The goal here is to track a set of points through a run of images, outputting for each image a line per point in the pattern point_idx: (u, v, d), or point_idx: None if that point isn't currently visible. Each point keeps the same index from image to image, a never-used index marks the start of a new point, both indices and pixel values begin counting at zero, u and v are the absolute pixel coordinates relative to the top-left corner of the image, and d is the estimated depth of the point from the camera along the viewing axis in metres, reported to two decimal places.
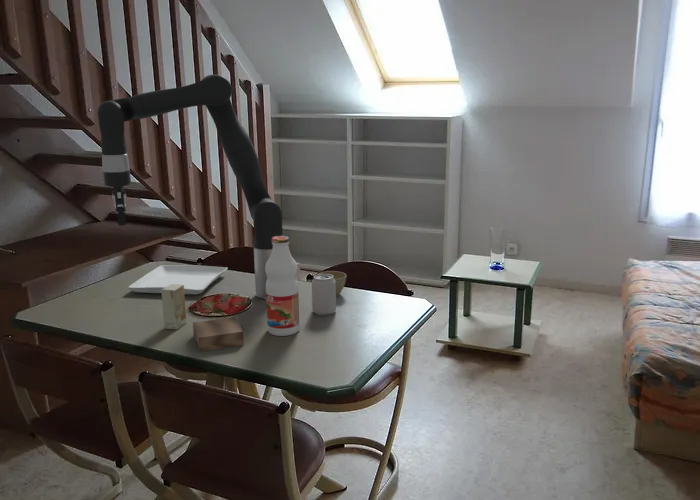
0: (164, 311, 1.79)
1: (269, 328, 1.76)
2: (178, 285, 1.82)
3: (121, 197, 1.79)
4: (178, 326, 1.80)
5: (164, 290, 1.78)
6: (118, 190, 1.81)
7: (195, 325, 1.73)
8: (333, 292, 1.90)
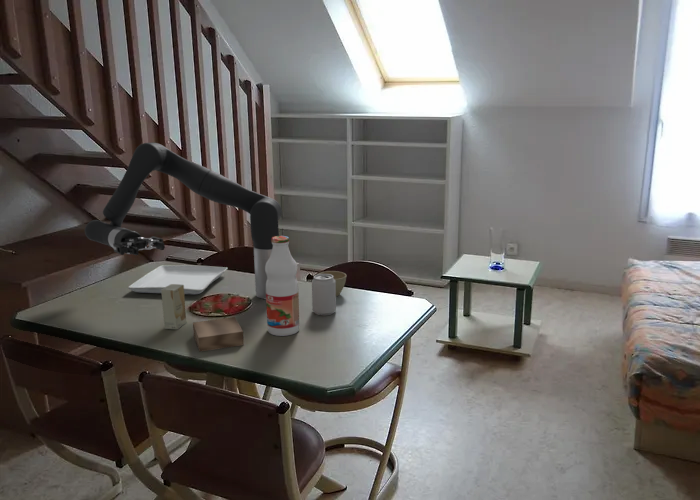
0: (164, 311, 1.79)
1: (269, 328, 1.76)
2: (178, 285, 1.82)
3: (114, 246, 1.86)
4: (178, 326, 1.80)
5: (164, 290, 1.78)
6: (122, 245, 1.90)
7: (195, 325, 1.73)
8: (333, 292, 1.90)
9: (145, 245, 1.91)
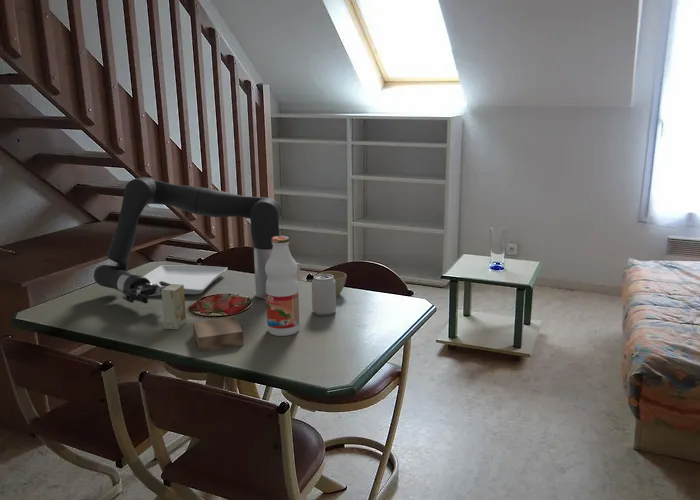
0: (164, 311, 1.79)
1: (269, 328, 1.76)
2: (178, 285, 1.82)
3: (124, 294, 1.88)
4: (178, 326, 1.80)
5: (164, 290, 1.78)
6: None
7: (195, 325, 1.73)
8: (333, 292, 1.90)
9: (154, 291, 1.93)
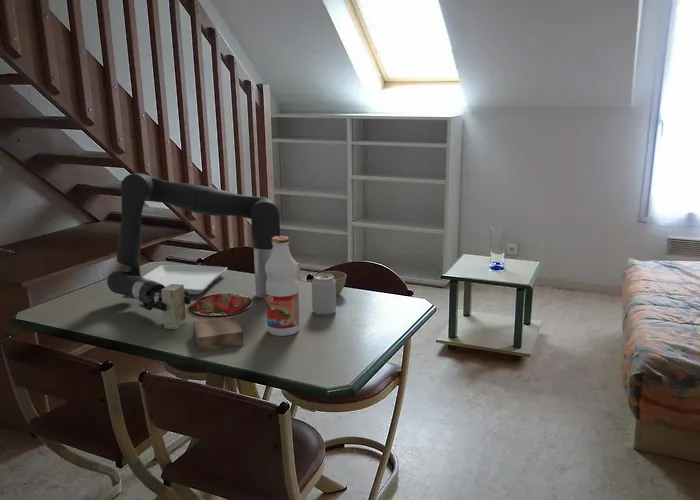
0: (164, 311, 1.79)
1: (269, 328, 1.76)
2: (178, 285, 1.82)
3: (141, 301, 1.81)
4: (177, 326, 1.80)
5: (164, 290, 1.78)
6: (147, 299, 1.85)
7: (195, 325, 1.73)
8: (333, 292, 1.90)
9: None
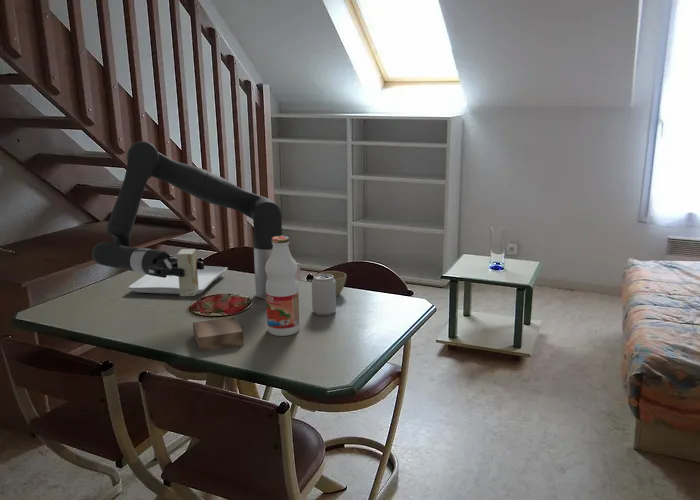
0: (180, 277, 1.69)
1: (269, 328, 1.76)
2: (191, 249, 1.72)
3: (152, 269, 1.69)
4: (195, 293, 1.71)
5: (180, 255, 1.68)
6: None
7: (195, 325, 1.73)
8: (333, 292, 1.90)
9: None
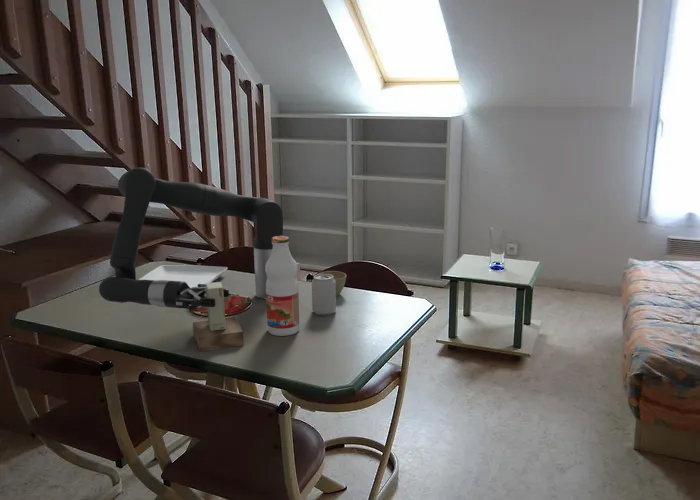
0: (211, 312, 1.67)
1: (269, 328, 1.76)
2: (217, 283, 1.71)
3: (180, 301, 1.64)
4: (225, 326, 1.70)
5: (211, 289, 1.66)
6: None
7: (195, 325, 1.73)
8: (333, 292, 1.90)
9: None
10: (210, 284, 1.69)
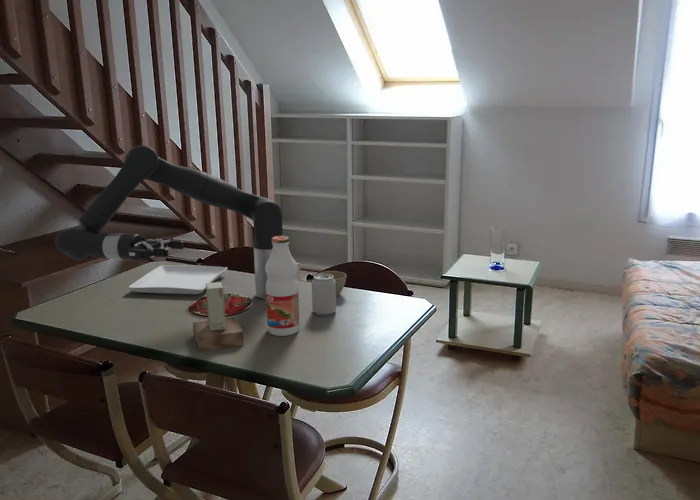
0: (211, 312, 1.67)
1: (269, 328, 1.76)
2: (217, 283, 1.71)
3: (133, 252, 1.65)
4: (225, 326, 1.70)
5: (211, 289, 1.66)
6: None
7: (195, 325, 1.73)
8: (333, 292, 1.90)
9: (158, 247, 1.73)
10: (210, 284, 1.69)
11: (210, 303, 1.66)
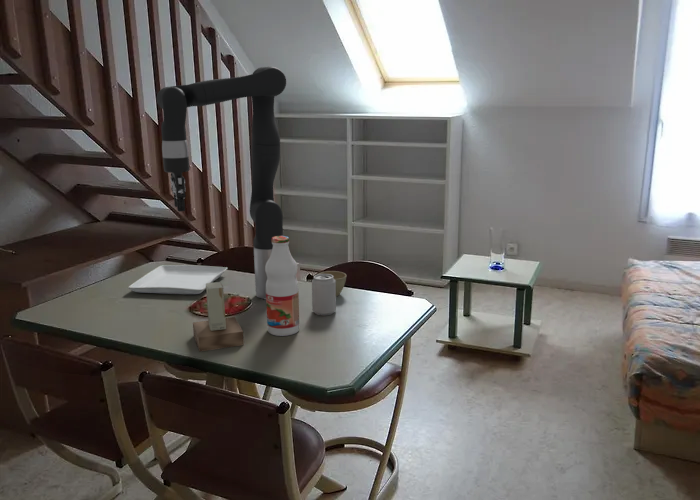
0: (211, 312, 1.67)
1: (269, 328, 1.76)
2: (217, 283, 1.71)
3: (182, 183, 1.79)
4: (225, 326, 1.70)
5: (211, 289, 1.66)
6: (178, 176, 1.82)
7: (195, 325, 1.73)
8: (333, 292, 1.90)
9: None
10: (210, 284, 1.69)
11: (210, 303, 1.66)
